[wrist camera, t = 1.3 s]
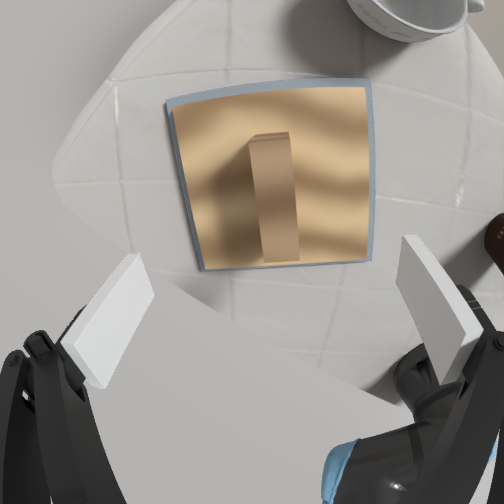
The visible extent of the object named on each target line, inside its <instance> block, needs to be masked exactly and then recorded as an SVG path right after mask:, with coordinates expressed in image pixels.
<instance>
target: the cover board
mask: <svg viewBox="0 0 504 504" xmlns="http://www.w3.org/2000/svg"><path fill="white" fill-rule="evenodd" d="M172 110H173V116H174V122H175V127H176V133H177V138H178V144H179V149H180V155H181V160H182V165H183V170H184V175H185V180H186V185H187V190H188V195H189V199H190V204H191V209H192V213H193V218H194V222H195V227H196V231H197V236H198V240H199V244H200V249H201V253H202V257H203V261H204V265H205V269H223V268H241V267H259V266H275V265H292V264H308V263H323V262H338V261H352V260H366V258H367V244H368V225H369V139H368V121H367V107H366V95H365V87H318V88H298V89H284V90H273V91H263V92H254V93H246V94H239V95H232V96H226V97H220V98H214V99H208V100H203V101H198V102H193V103H188V104H184V105H179V106H175V107H172Z"/></svg>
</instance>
